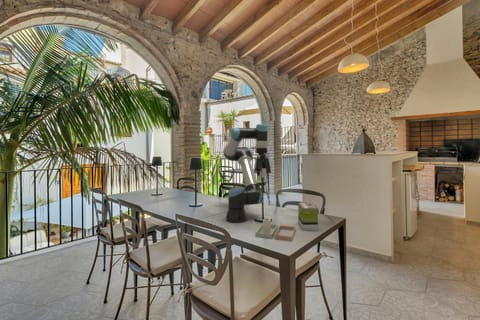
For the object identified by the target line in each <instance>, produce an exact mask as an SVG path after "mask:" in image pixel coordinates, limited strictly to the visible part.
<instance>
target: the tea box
mask: <svg viewBox="0 0 480 320" xmlns="http://www.w3.org/2000/svg"><path fill="white" fill-rule="evenodd" d="M297 210H298V211H297V212H298V213H297V215H298V216H297V217H298V218H297V222H298V224H299V226H300V227H301V229H302V231H318V230H319V207H318V206H316V205H315V204H314V202H311V201H310V202H309V201H308V202H298V203H297Z"/></svg>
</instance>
